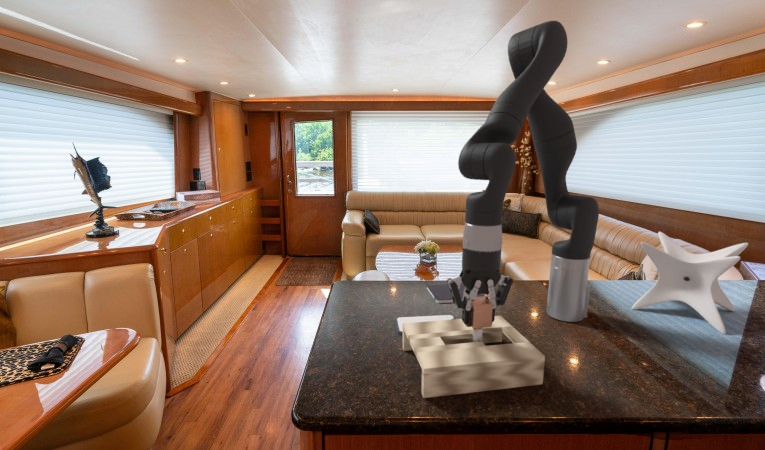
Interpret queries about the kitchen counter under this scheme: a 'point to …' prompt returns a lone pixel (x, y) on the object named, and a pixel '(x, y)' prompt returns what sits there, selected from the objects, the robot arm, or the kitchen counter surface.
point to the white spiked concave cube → (690, 278)
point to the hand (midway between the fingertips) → (477, 324)
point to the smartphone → (419, 320)
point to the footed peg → (480, 317)
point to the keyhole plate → (471, 357)
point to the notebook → (446, 292)
